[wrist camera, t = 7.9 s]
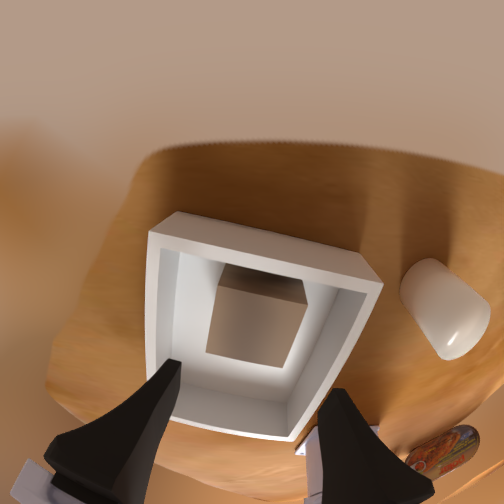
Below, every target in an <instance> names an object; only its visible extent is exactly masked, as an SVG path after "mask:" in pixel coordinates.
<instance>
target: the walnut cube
mask: <svg viewBox="0 0 504 504" xmlns="http://www.w3.org/2000/svg"><path fill="white" fill-rule="evenodd" d="M307 307H308V302H307V298H306V293H305V289H304V285H303V281H302V280H301V279H296V278H292V277H287V276H283V275H278V274H274V273H269V272H264V271H260V270H256V269H251V268H247V267H242V266H238V265H233V264H229V263H226V264H225V266H224V269H223V272H222V274H221V277H220V280H219V282H218V285H217V290H216V296H215V301H214V306H213V312H212V317H211V323H210V328H209V334H208V340H207V345H206V351H205V353H209V354H213V355H218V356H222V357H226V358H231V359H235V360H240V361H245V362H250V363H255V364H260V365H266V366H271V367H277V368H283V366H284V364H285V361H286V359H287V357H288V354H289V352H290V350H291V347H292V345H293V342H294V340H295V338H296V335H297V333H298V330H299V328H300V325H301V323H302V320H303V317H304V315H305V312H306V310H307Z"/></svg>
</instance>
